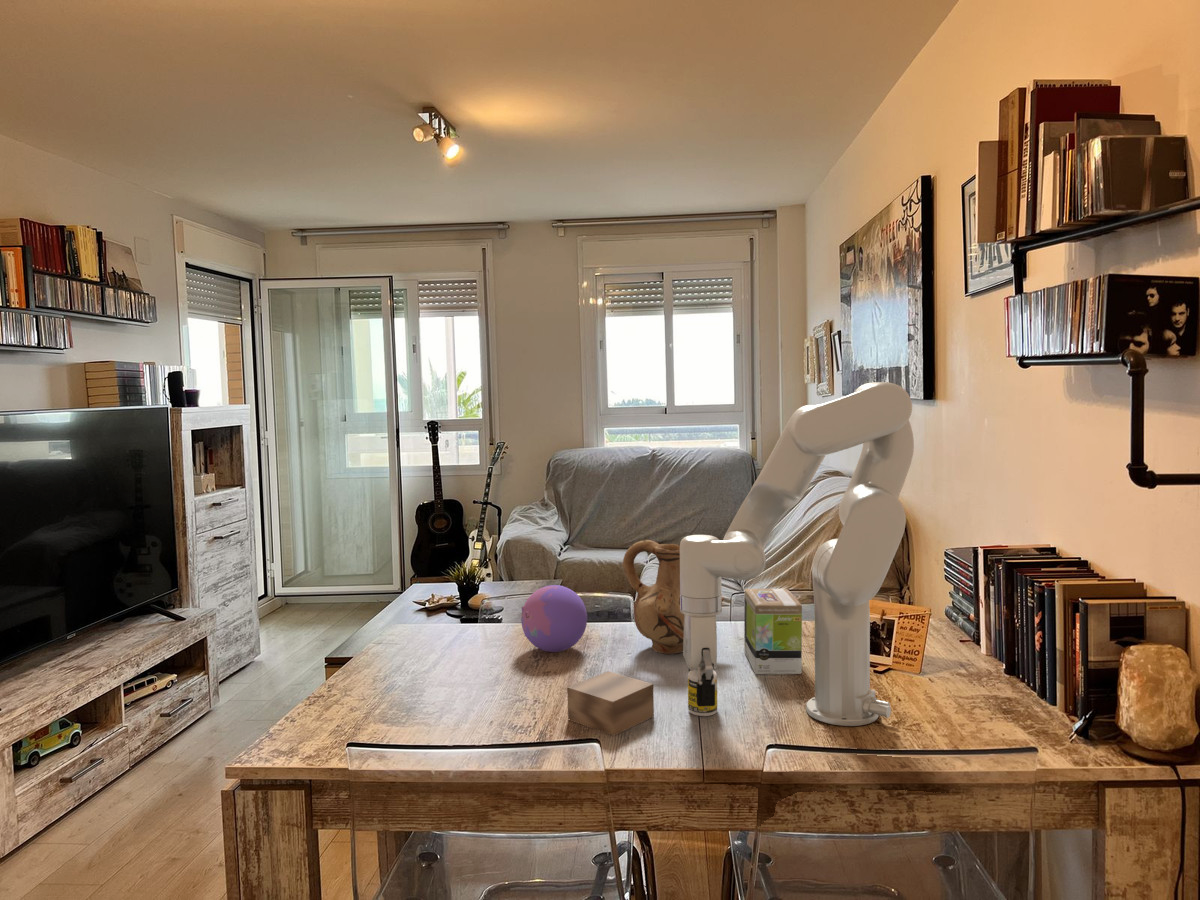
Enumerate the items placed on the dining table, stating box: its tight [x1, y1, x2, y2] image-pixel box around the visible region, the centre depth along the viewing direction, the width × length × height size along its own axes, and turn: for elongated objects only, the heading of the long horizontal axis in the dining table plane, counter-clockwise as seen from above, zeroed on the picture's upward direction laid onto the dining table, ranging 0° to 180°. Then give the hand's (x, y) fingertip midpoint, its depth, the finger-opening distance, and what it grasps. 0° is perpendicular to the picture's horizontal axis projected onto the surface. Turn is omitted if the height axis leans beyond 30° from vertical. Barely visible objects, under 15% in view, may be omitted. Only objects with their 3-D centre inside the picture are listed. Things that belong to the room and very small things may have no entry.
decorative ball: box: [520, 584, 588, 653], centre depth 190 cm, size 15×15×15 cm
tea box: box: [743, 588, 803, 675], centre depth 178 cm, size 15×10×15 cm
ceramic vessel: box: [622, 539, 725, 655], centre depth 189 cm, size 18×19×25 cm
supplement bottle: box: [687, 665, 718, 717], centre depth 153 cm, size 5×5×10 cm
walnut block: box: [566, 671, 655, 736], centre depth 151 cm, size 11×11×6 cm
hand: (701, 695), depth 153 cm, fingers open, 9 cm apart
